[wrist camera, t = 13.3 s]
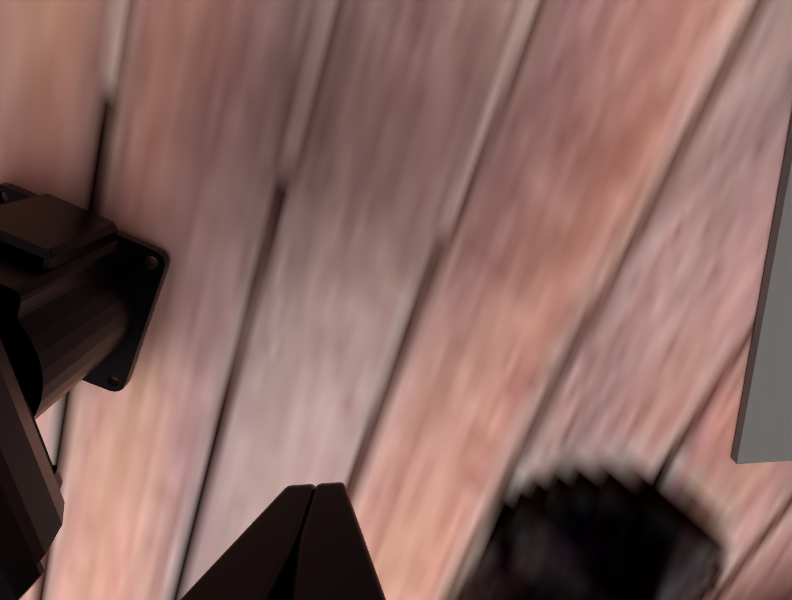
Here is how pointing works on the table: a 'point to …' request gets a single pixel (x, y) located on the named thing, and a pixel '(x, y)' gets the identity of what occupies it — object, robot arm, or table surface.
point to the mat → (771, 345)
